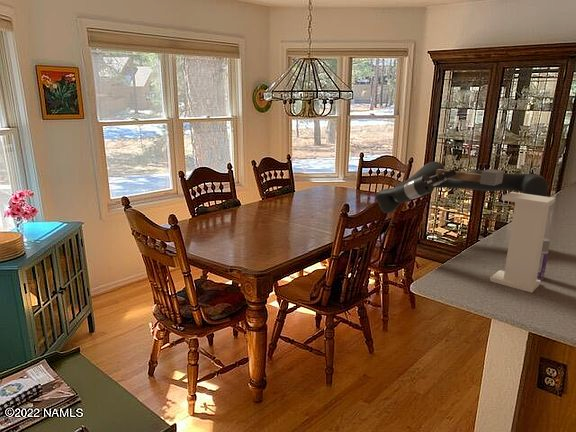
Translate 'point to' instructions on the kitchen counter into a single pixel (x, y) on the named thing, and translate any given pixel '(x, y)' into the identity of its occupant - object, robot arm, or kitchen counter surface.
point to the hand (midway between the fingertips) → (456, 171)
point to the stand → (524, 241)
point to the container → (543, 259)
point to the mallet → (478, 176)
